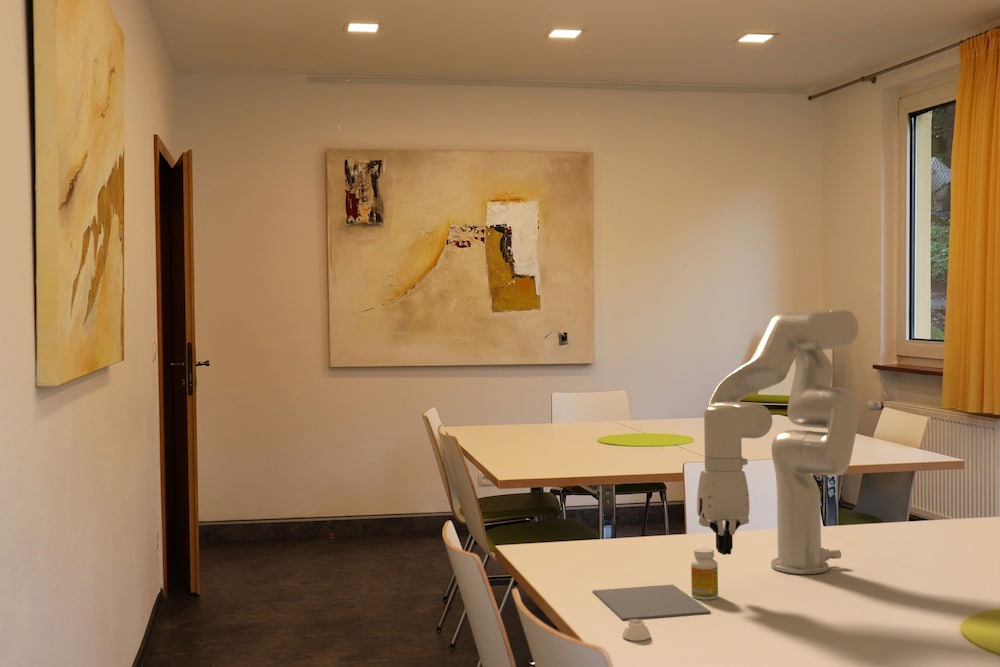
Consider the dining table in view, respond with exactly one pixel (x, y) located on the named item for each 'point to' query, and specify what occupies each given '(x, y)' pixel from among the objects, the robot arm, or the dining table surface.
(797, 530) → the robot arm
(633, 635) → the lidless jar
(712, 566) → the supplement bottle
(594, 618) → the dining table surface
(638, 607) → the felt mat
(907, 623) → the dining table surface
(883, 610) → the dining table surface
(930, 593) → the dining table surface
